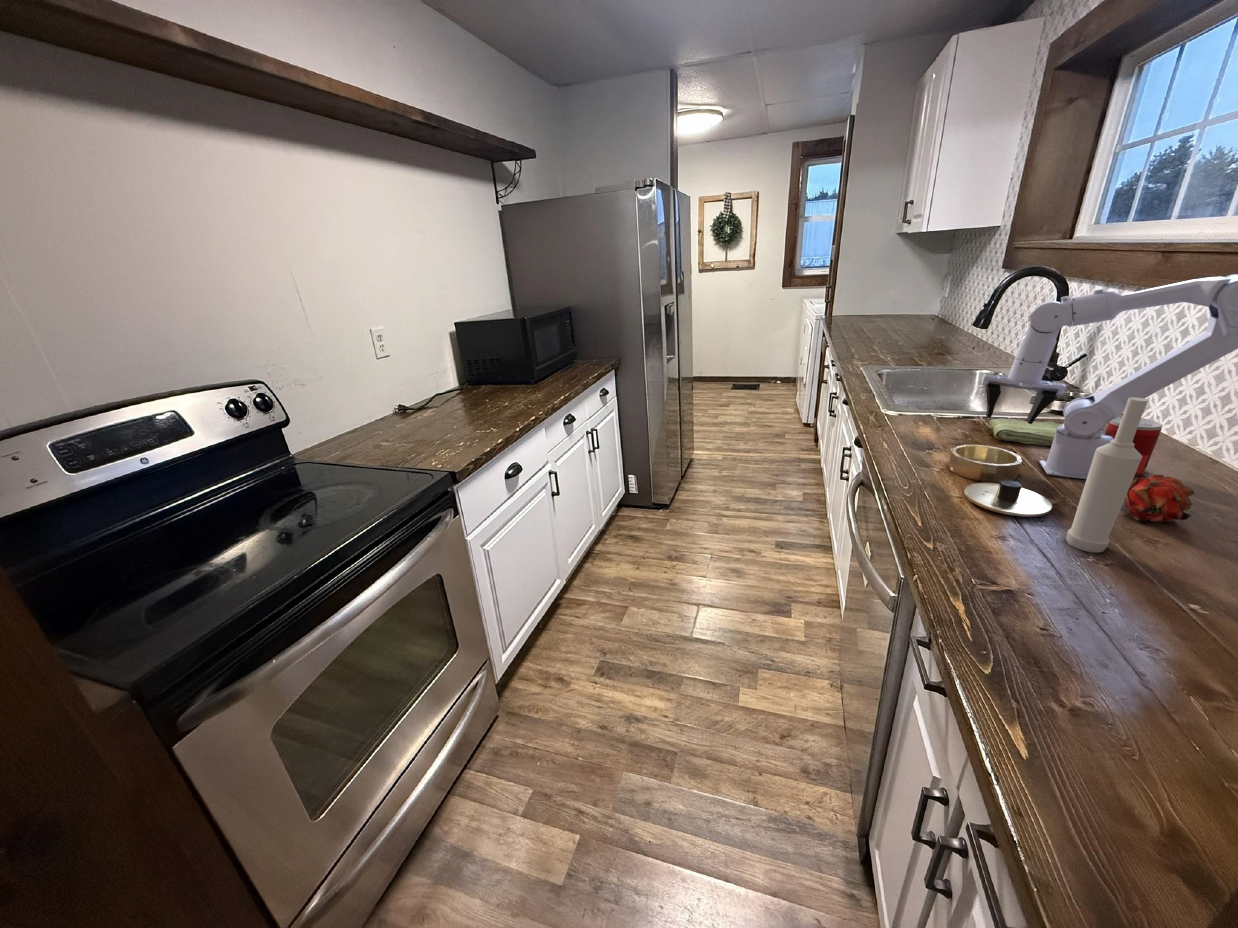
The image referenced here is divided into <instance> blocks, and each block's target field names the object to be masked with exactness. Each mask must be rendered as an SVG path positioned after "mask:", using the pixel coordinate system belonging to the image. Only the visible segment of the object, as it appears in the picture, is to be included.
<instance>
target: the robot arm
mask: <svg viewBox="0 0 1238 928" xmlns="http://www.w3.org/2000/svg"><path fill="white" fill-rule="evenodd" d="M1181 303H1187V304H1191V305H1197V306H1201V307H1207V308H1208V310H1209V317H1208V321H1207V326H1206V331H1205V332H1204V333H1202V334H1200V335H1199V336H1197V337H1195V338H1194V339H1191V340H1190V341H1188V342H1187V343H1185V344H1182V345H1181V346H1180V347H1178V348H1176V349H1174V350H1173V351H1171V352H1169V353H1167V354H1165V355H1163V356H1162V357H1160V358H1159V359H1157V360H1155V361H1154V362H1151V363H1150V364H1148V365H1146V366H1145V367H1143V368H1140V369H1139V370H1138V371H1136V372H1134V373H1132V374H1131V375H1129V376H1126V377H1125V378H1124V379H1121V380H1120V381H1118V382H1117V383H1115V384H1113V385H1112V386H1110V387H1108V388H1104V389H1101V390H1097V391H1095V392H1094V393H1092V394H1090V395H1087V396H1084V397H1078V398H1075V399H1072V400H1071V401H1069V402H1068V403H1067V404H1066V405H1065V406H1064V408H1063V410H1062V415H1063V418H1064V419H1063V423H1062V425H1061V426H1059V427H1057V430H1056V433H1055V436H1054V440H1053V443H1052V446H1051V447H1050V450H1049V453H1048V457H1047V459H1046V460H1044V459H1043V460H1042V459H1040V460H1039V464H1040V465H1041V467H1042V469H1044V472H1045V473H1046V475H1048V476H1054V477H1064V478H1072V479H1082V480H1087V477H1088V473H1089V470H1090V467H1091V464H1092V461H1093V458H1094V454H1095V451H1096V449H1097V448H1099V447H1101V446H1104V445H1106V444H1109V443H1110V441H1111V440H1114V439H1113V437H1111V436H1107V435H1104V434H1103V432H1102V431H1103V430H1104V428H1105V427H1107V425H1108V423H1109V422H1110V421H1112V420H1113V419H1115V418H1117V417H1120V416H1121V414H1122V413H1124V411H1125V407H1126V404H1127V402H1128V399H1129V398H1131V397H1136V398H1144V399H1147V398H1149V397H1150V396H1152V395H1154V394H1155V393H1157V392H1159V391H1161V390H1164V389H1165V388H1167V387H1168V386H1171V385H1173V384H1174V383H1176V382H1178V381H1180V380H1182V379H1183V378H1186V377H1188V376H1189V375H1191V374H1193V373H1195V372H1197V371H1198V370H1200V369H1203V368H1204V367H1207V366H1208V365H1210V364H1211V363H1213V362H1217V360H1219V359H1221V358H1223V357H1225V356H1227V355H1229V354H1231V353H1232V352H1234V351H1236V350H1238V273H1235V274H1229V275H1227V276H1222V275H1221V276H1209V277H1202V278H1195V279H1189V280H1185V281H1180V282H1176V283H1174V282H1173V283H1171V284H1166V285H1161V286H1156V287H1151V288H1145V289H1142V290H1137V291H1132V292H1128V293H1123V294H1120V293H1118V292H1117V291H1115V290H1112V289H1107V290H1104V289H1103V288H1096V289H1094V290H1093V293H1088V294H1083V295H1078V296H1073V297H1069V295H1066V296H1065V295H1064V296H1062V297H1060V301H1056V300H1047V301H1044V302H1041V303H1040V304H1038V305H1037V306H1035V307H1034V309H1033V310H1032V312H1031V313H1030V314H1029V325H1028V326H1027V327H1026V329H1025V335H1023V336H1022V338H1021V341H1020V344H1019V346H1018V349H1017V352H1016V354H1015V357H1014V360H1013V363H1012V365H1011V368H1010V370H1009V373H1008V375H1002V374H1001V375H999V374H986V373H985V374H983V375H982V378H981V381H980V383H981V385H983V386H984V387H985V392H986V400H987V402H986V403H987V404H986V405H987V406H986V411H985V412H986V413H985V416H986V418H989V419H991V418H992V416H993V414H994V411H995V407H996V404H997V401H998V399H999V397H1000V396H1001V393H1002V390H1001V388H1002V387H1006V388H1012V389H1021V390H1028V391H1036V393H1035V397H1034V401H1033V404H1032V406H1031V409H1030V410H1029V413H1028V415H1027V418H1026V421H1027V423H1028V424H1032V423H1033V422H1034V421H1035V420H1036V419H1037V418H1038V416H1039V415H1040V414H1041V413H1042V412H1043V411H1044V410H1045V409H1046V408H1047V407H1048V406H1049V405H1050V404H1052V403H1054V402H1055V401H1056V399H1057V397H1058V396H1057V395H1064V393H1065V390H1066V388H1067V385H1066V384H1064V383H1060V382H1054V381H1049V380H1043V376H1044V374H1045V371H1046V369H1047V367H1048V364H1049V362H1050V360H1051V357H1052V354H1053V351H1054V349H1055V346H1056V344H1057V341H1058V340H1057V338H1058V335H1059V334H1060V333H1059V332H1060V330H1061V329H1062V328H1063V327H1064V326H1066V327H1070V328H1071V327H1077V326H1083V325H1089V324H1096V323H1103V322H1107V321H1112V320H1115V318H1116V317H1117V316H1118V315H1119V314H1121V313H1122V312H1126V311H1127V312H1128V311H1134V310H1140V309H1146V308H1153V307H1159V306H1166V305H1173V304H1181Z"/></svg>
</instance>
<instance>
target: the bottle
mask: <svg viewBox="0 0 1238 928" xmlns="http://www.w3.org/2000/svg"><path fill="white" fill-rule="evenodd" d="M1148 402H1149V400H1148V399H1147V398H1136V397H1131V398H1129V399H1128V402H1127V404H1126V407H1125V410H1124V411H1123V414H1122V416H1121V417H1122V420H1121V422H1120V425H1119V428H1118V431H1117V434H1116V436H1115V439H1114V440H1111V441H1110V443H1109V444H1106V445H1104V446H1101V447H1099V448H1097V449H1096V451H1095V454H1094V458H1093V461H1092V464H1091V467H1090V470H1089V473H1088V477H1087V479H1085V483H1084V486H1083V489H1082V493H1081V496H1080V499H1079V502H1078V505H1077V509H1076V512H1075V515H1074V519H1073V522H1072V524H1071V527H1070V528H1069V529H1068V531H1067V533H1066V536H1065V537H1066V538H1065V539H1066V540H1065V541H1066V543H1067V544H1068V545H1069V546H1071V547H1073V548H1075V549H1077V550H1080V551H1084V552H1088V553H1098V554H1099V553H1104V551H1105V550H1106V549H1107V547H1108V546H1109V544H1110V542H1111V540H1110V535H1111V532H1112V530H1113V528H1114V527H1115V523H1116V521H1117V518H1118V517H1119V514H1120V511H1121V509H1122V507H1123V504H1124V503H1125V500H1126V499H1125V497H1126V495H1127V492H1128V490H1129V487H1130V485H1131V483H1132V481H1133V480H1134V478H1135V476H1134V475H1135V473H1136V471H1137V468H1138V466H1139V463H1140V461H1141V459H1142V455H1141V454H1140V453H1139V452H1138V451H1137V450H1136V449H1135V448H1134V445H1135V444H1134V443H1133V442H1132V441H1133V438H1134V436H1135V433H1136V430H1137V428H1138V425H1139V422H1140V419H1141V418H1142V416H1143V415H1144V413H1145V410H1146V408H1147V404H1148Z"/></svg>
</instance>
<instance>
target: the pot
mask: <svg viewBox="0 0 1238 928" xmlns="http://www.w3.org/2000/svg"><path fill="white" fill-rule="evenodd" d="M1022 463H1023V459H1022V457H1021V456H1020V455H1018V454H1017V453H1015V452H1013V451H1011V450H1007V449H1005V448H1001V447H996V446H992V445H986V444H985V445H984V444H961V445H955V446H953V448H951V450H950V455H949V459H948V469H949V471H951V472H952V473H954V474H955V475H958V476H961V477H963V478H966V479H970V480H973V481H978V482H982V483H1000V481H1001V480H1012V481H1016V479H1017V478H1018V476H1019V473H1020V470H1021V467H1022Z"/></svg>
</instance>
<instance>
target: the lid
mask: <svg viewBox="0 0 1238 928" xmlns="http://www.w3.org/2000/svg"><path fill="white" fill-rule="evenodd" d="M1022 486H1023V484H1022V483H1020V482H1019V481H1016V480H1013V481H1012V480H1001V481H1000V483H993V482H978V483H977V482H976V483H972V484H969V485H967V486H966V487H965V488H964V492H963V493H964V494H963V495H964V496H965V498H966V499H967V500H968V501H970V502H971V503H973V505H974V504H975V505H976V506H978V507H981V508H983V509H984V510H985V509H986V510H988V511H991V512H996V513H999V514H1003V515H1008V516H1015V517H1025V518H1036V517H1043V516H1046V515H1048V514H1050V513H1051V511H1052V509H1053V504H1052V502H1051V501H1050V500H1049V499H1048V498H1046V497H1045V496H1043V495H1042V494H1039V493H1037V492H1035V491H1032V490H1030V489H1026V488H1024V487H1022Z"/></svg>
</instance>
